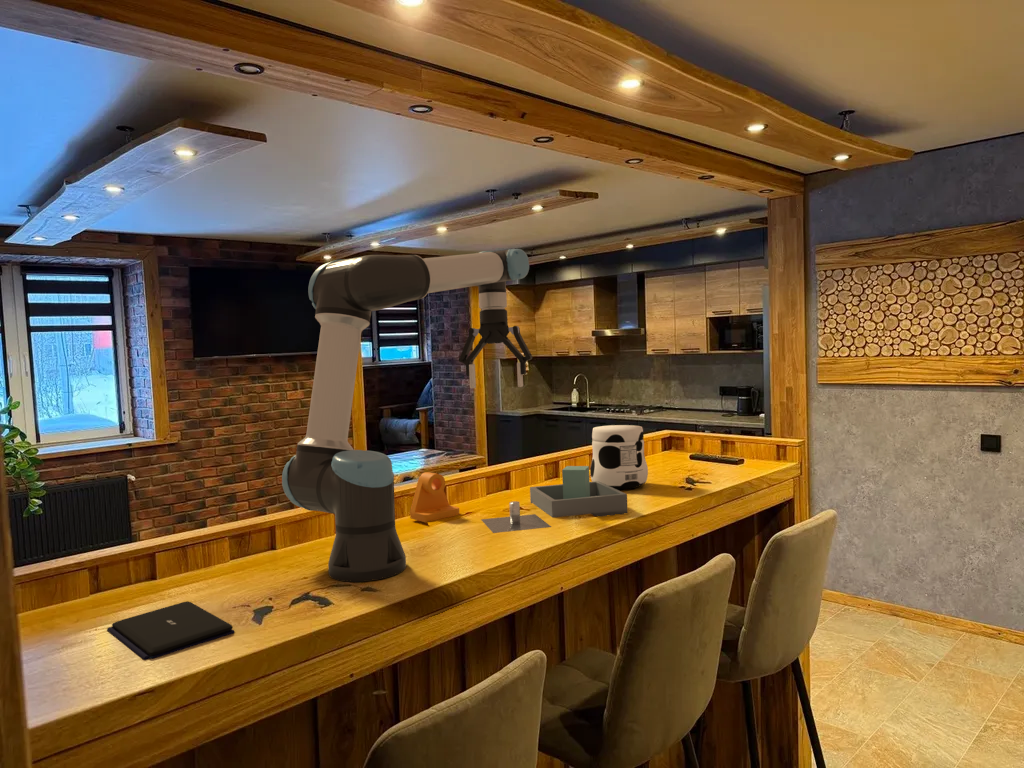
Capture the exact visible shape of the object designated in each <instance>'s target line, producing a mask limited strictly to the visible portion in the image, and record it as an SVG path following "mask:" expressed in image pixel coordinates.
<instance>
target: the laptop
mask: <svg viewBox="0 0 1024 768" xmlns="http://www.w3.org/2000/svg"><path fill="white" fill-rule="evenodd" d="M111 625H112V626H108V627H107V629H106V631H107V632H109V634H110V635H112V636H113V637H114V638H116V639H117V640H118V641H119V642H121V643H122V644H123V645H124V646H126V647H127V648H128V649H129V650H131V651H132V652H133V653H134V654H135V655H137V656H138V657H140V659H142V660H143V661H146V660H149V659H150V660H155V659H157V658H160V657H164V656H167V655H169V654H172V653H176V652H179V651H182V650H185V649H189V648H192V647H195V646H198V645H201V644H205V643H207V642H211V641H214V640H216V639H221V638H224V637H227V636H231V635H233V634H234V633H236V632H235V629H233V625H232V624H231V623H229V622H227V621H225V620H223V619H222V618H220V617H218V616H216V615H214V614H213V613H211V612H209V611H208V610H206V609H204V608H201V607H200V606H198V605H196V604H195V603H193V602H191V601H183V602H178V603H176V604H171V605H169V606H165V607H162V608H158V609H155V610H152V611H148V612H144V613H141V614H138V615H134V616H131V617H128V618H125V619H120V620H118V621H115V622H113V623H112V624H111Z"/></svg>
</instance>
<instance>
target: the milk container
mask: <svg viewBox="0 0 1024 768" xmlns="http://www.w3.org/2000/svg"><path fill="white" fill-rule="evenodd" d="M591 438H592V440H591V441H592V442H591V446H592V458H591V459H592V460H591V463H590V467H589V475H590V478H591V482H594V481H599V482H602V483H604V484H606V485H608V486H610V487H612V488H615V489H617V490H624V489H632V488H633V489H635V488H638V487H641V486H643V485H644V484H645V483H646V482H647V480H648V475H649V469H648V468H649V467H648V464H647V461H646V457H645V440H644V439H645V438H644V428H643V426H640V425H633V424H630V425H629V424H616V425H615V424H611V425H602V426H595V427H593V428H592V433H591Z"/></svg>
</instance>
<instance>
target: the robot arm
mask: <svg viewBox="0 0 1024 768" xmlns="http://www.w3.org/2000/svg"><path fill="white" fill-rule="evenodd" d="M529 270H530V262H529V257H528V255H527V253H526V251H524V250H523V249H521V248H509V249H504V250H484V251H479V252H476V253H467V254H466V253H465V254H455V255H446V256H434V257H425V258H422V257H421V256H420V255H417V254H406V255H399V254H397V255H393V254H368V255H363V256H357V257H353V258H352V257H351V258H346V259H341V258H340V259H336V260H335V259H334V260H331V261H330V262H326V263H324V264H322V265H320V266H319V267H318V268H316V269H315V271H314V272H313V273H312V275H311V277H310V279H309V283H308V291H307V292H308V298H309V300H310V301H311V305H312V306H313V308H314V309H315V313H314V315H315V316H314V318H315V320H316V321H317V322H318V323H319V325H320V332H319V337H318V338H319V340H318V347H317V355H316V360H315V367H314V368H315V369H314V374H313V375H314V376H313V381H312V382H313V383H312V391H311V398H310V404H309V405H310V406H309V412H308V420H307V426H306V427H307V428H306V434H305V437H304V438H302V439H301V440H300V441H299V442H297V445H296V446H297V447H296V452H295V455H293V456H292V457H290V460H289V461H287V462H286V464H285V465H284V468H283V470H282V475H281V485H282V489H283V492H284V494H285V496H286V498H288V500H289V501H290V502H291V503H292V504H293V505H295V506H297V507H299V508H303V509H305V510H306V511H307V510H308V511H311V512H323V513H328V514H334V521H335V523H334V525H335V537H334V540H333V545H332V549H331V552H330V555H329V560H328V565H327V566H328V567H327V568H328V576H329V577H330V578H332V579H333V580H337V581H342V582H354V583H355V582H369V581H377V580H383V579H387V578H390V577H392V576H396V575H398V574H401V573H403V571H405V570H406V568H407V559H406V558H407V556H406V553H405V551H404V547H403V546H402V543H401V540H400V537H399V534H398V532H397V530H396V529H397V528H396V511H395V509H396V508H395V505H396V503H395V474H394V471H393V463H392V460H391V458H390V457H389V456H388V455H387V454H385V453H382V452H380V451H374V450H364V449H354V448H353V446H352V445H351V444H350V443H349V441H348V438H349V431H350V424H351V423H350V422H351V414H352V408H353V400H354V391H355V384H356V376H357V375H356V374H357V368H358V362H359V353H360V345H361V337H362V332H363V331H364V330H366V328H368V327H369V326H370V325H371V315H372V312H374V311H380V310H384V309H388V308H391V307H394V306H398V305H401V304H404V303H407V302H408V303H409V302H413V301H418V300H421V299H422V300H423V298H425V297H426V296H427V295H428V294H431V293H432V294H433V293H438V292H443V291H445V292H446V291H450V290H456V289H464V288H469V287H478V308H479V309H481V310H479V328H475V327H470V328H469V329H468V335H467V339H466V340H465V341H466V342H465V344H464V346H463V348H462V351H461V353H460V356H459V358H458V362H459V363H463V364H465V376H467V377H469V388H470V389H476V388H477V387H476V364H475V363H473V362H474V361H475V359H476V358H477V357H478V356H479V354H480V352H481V351H483V348H484V347H486V345H487V344H488V345H490V344H503V345H505V347H507V349H508V350H509V351H510V353H512V354H513V355H514V357H516V359H517V360H518V361H519V362H516V374H517V387H518V388H523V387H524V376H523V375H526V373H527V362H528V361H531V360H533V355H532V353H531V352H530V349H529V347H528V346H527V344H526V342H525V340H524V337H523V336H522V334H521V328H520V326H518V325H514V326H511V327H510V326H509V324H508V323H509V321H508V310H507V309H506V308H507V307H508V303H507V302H508V298H507V297H508V296H507V282H511V281H518V280H521V279H525V277H526V276H527V275H528V273H529ZM510 333H511V335H513V336H514V338H515V340H516V342H517V344H518V345H519V346H518V347H519V348H520V350H521V351H522V352H521V351H519V350H518V348H517V347H516V345H514V343H513V342H512V341H511V340H510V339H509V338H508V335H509V334H510ZM478 335H480V337H481V338H480V339H479V340H478V343H477V344H476V346H475V347H474V348H473V350H472V351H471V349H472V347H473V344H474V343H475V339H476V337H477V336H478ZM470 351H471V352H470Z"/></svg>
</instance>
